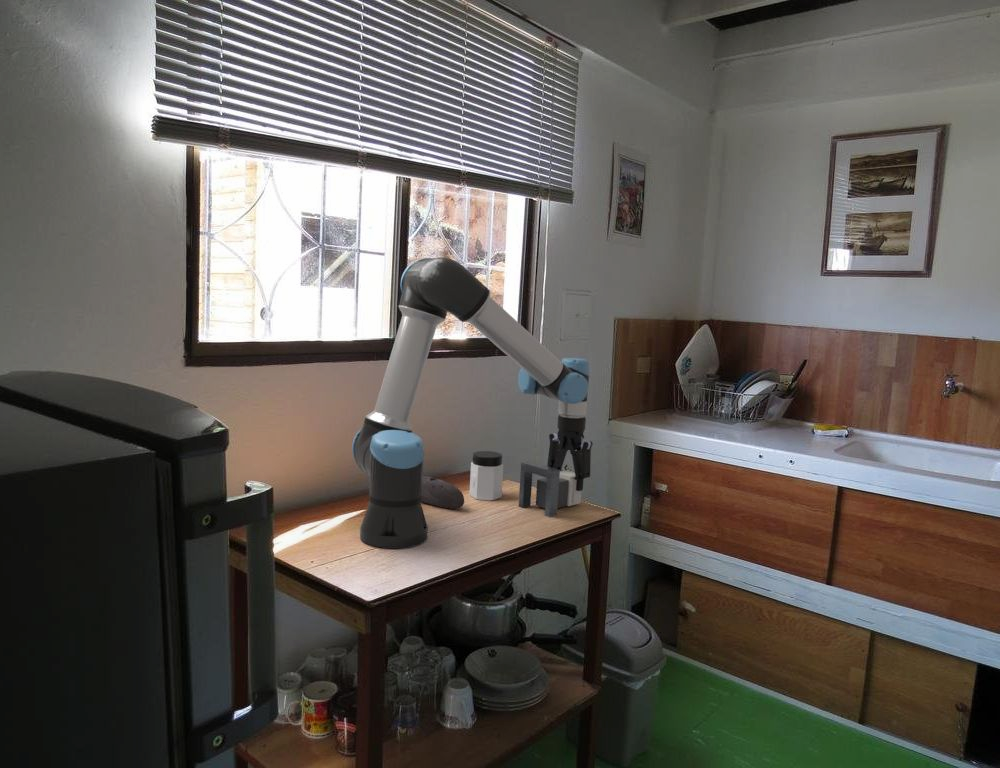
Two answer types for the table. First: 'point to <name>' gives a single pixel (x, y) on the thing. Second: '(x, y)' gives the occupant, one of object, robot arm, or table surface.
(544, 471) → the frame
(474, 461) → the jar
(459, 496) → the perforated stone tool
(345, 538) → the table surface
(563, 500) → the plug
